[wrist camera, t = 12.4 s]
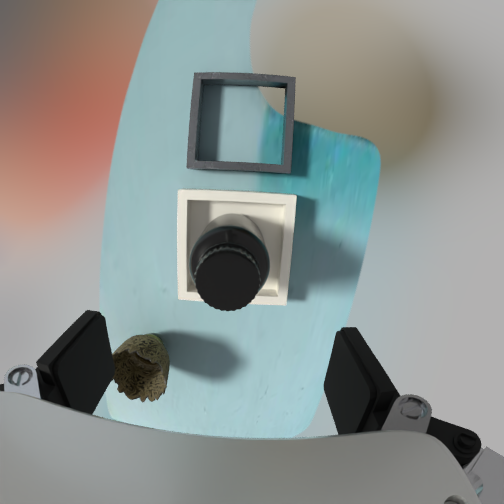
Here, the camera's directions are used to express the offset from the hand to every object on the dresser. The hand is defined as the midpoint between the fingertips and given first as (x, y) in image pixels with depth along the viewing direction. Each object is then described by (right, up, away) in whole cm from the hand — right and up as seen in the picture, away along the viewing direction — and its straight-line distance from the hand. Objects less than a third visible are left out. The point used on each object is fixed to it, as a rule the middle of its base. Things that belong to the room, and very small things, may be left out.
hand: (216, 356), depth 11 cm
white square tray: (-1, +5, +22) cm, 22 cm away
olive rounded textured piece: (-12, -8, +25) cm, 29 cm away
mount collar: (0, +18, +18) cm, 26 cm away
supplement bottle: (-1, +5, +22) cm, 22 cm away
